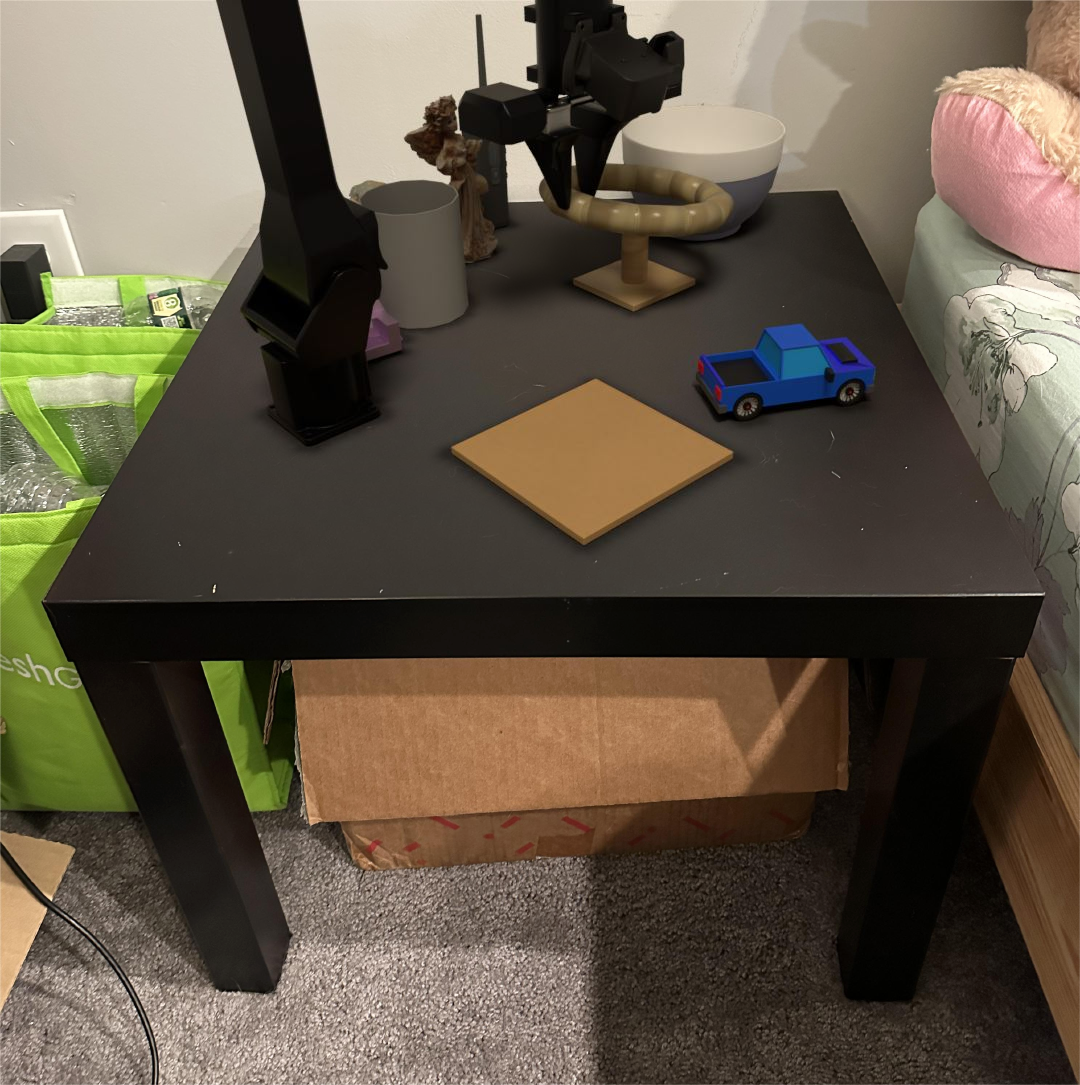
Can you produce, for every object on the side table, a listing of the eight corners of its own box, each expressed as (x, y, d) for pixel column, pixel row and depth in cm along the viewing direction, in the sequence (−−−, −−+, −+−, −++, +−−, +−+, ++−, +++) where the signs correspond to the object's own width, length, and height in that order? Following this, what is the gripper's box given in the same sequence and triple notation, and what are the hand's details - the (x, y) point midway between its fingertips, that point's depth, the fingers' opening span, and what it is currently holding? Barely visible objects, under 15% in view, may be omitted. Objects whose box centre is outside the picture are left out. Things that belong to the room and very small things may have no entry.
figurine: (461, 273, 92) (446, 108, 82) (417, 259, 95) (397, 98, 85) (510, 248, 96) (501, 88, 86) (467, 235, 99) (453, 79, 89)
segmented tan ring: (634, 250, 74) (638, 219, 73) (502, 198, 84) (503, 169, 83) (767, 225, 83) (773, 196, 82) (634, 180, 93) (637, 154, 92)
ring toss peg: (633, 312, 84) (635, 239, 80) (573, 284, 89) (572, 214, 85) (695, 284, 88) (700, 214, 84) (634, 260, 93) (636, 191, 89)
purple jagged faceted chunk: (415, 350, 80) (407, 283, 76) (341, 374, 77) (328, 306, 73) (374, 316, 85) (363, 251, 81) (302, 337, 82) (288, 272, 79)
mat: (583, 546, 59) (583, 538, 59) (451, 453, 68) (450, 446, 67) (733, 459, 66) (733, 451, 66) (595, 384, 75) (595, 378, 74)
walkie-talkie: (512, 226, 101) (501, 13, 88) (484, 232, 99) (468, 18, 87) (493, 212, 104) (479, 5, 91) (465, 218, 103) (447, 9, 90)
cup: (453, 331, 82) (441, 217, 76) (363, 325, 84) (344, 213, 77) (477, 289, 89) (468, 181, 82) (393, 285, 90) (378, 178, 84)
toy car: (875, 408, 70) (889, 347, 67) (720, 430, 69) (727, 369, 66) (836, 365, 76) (847, 307, 72) (691, 385, 74) (696, 326, 71)
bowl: (738, 266, 91) (748, 163, 85) (592, 237, 97) (592, 139, 91) (796, 211, 101) (809, 116, 95) (660, 188, 108) (665, 98, 102)
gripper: (548, 27, 60) (554, 265, 70) (744, -16, 69) (724, 200, 79) (444, 5, 66) (463, 225, 76) (635, -32, 75) (630, 169, 85)
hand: (575, 204), depth 79 cm, fingers closed on segmented tan ring, 2 cm apart
